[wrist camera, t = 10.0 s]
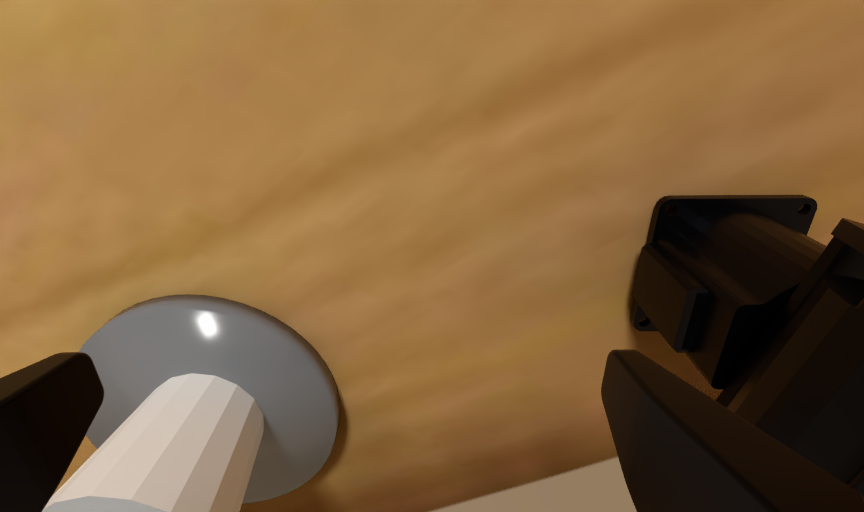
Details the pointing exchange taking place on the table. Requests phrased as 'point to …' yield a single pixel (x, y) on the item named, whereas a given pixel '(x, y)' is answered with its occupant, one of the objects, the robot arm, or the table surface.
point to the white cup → (173, 453)
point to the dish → (228, 359)
